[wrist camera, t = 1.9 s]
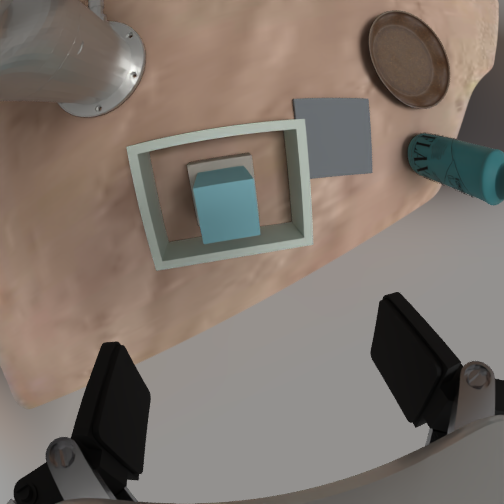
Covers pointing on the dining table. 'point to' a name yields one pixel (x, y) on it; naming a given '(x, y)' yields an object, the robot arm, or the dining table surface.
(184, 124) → the dining table surface
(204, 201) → the block
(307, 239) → the frame
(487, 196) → the beverage bottle
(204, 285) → the dining table surface
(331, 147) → the mat
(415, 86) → the saucer
